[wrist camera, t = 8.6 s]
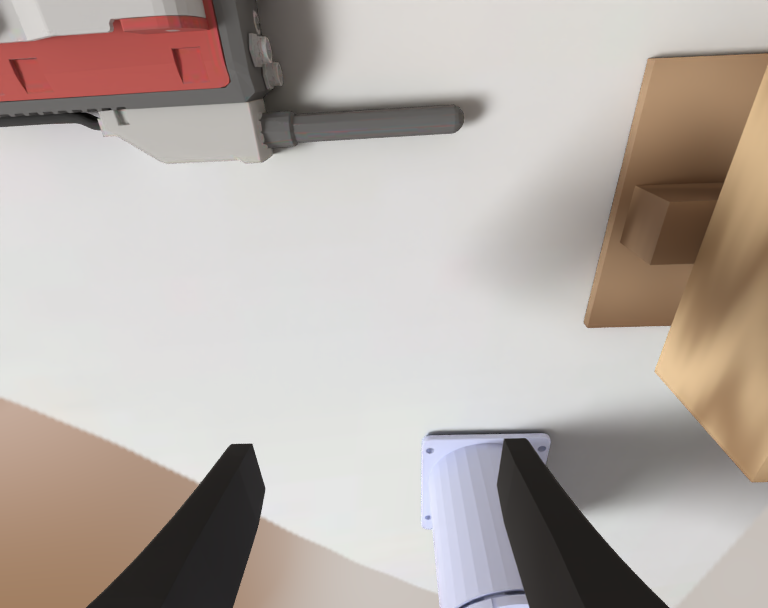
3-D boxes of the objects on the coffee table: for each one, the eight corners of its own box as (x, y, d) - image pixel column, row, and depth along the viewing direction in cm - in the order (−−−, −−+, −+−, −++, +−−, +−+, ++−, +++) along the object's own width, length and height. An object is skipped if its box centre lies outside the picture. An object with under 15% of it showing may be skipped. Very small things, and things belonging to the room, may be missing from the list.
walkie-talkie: (10, 168, 18) (457, 142, 18) (-89, 194, 15) (476, 163, 14) (-121, -96, 14) (467, -145, 13) (-312, -159, 10) (499, -231, 9)
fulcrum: (738, 318, 21) (786, 353, 19) (583, 322, 22) (610, 357, 19) (863, 48, 15) (960, 44, 13) (648, 58, 16) (699, 56, 13)
